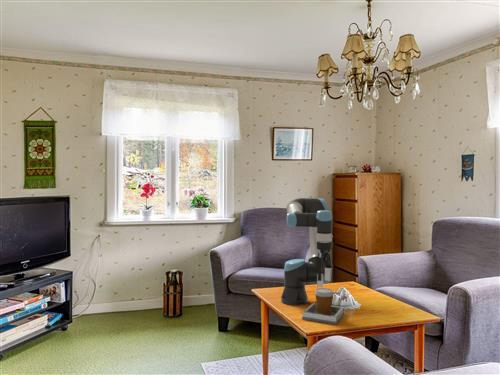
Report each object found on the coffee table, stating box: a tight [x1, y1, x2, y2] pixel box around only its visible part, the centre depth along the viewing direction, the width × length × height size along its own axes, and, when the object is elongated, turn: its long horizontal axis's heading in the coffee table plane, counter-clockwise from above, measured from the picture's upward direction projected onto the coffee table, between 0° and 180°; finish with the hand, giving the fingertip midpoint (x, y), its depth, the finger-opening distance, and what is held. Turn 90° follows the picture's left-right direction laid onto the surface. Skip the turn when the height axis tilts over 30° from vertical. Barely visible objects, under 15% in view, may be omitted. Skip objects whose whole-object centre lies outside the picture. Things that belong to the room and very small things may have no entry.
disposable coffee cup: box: [314, 287, 335, 315], centre depth 202 cm, size 10×10×12 cm
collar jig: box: [301, 302, 345, 326], centre depth 202 cm, size 17×17×4 cm
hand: (323, 283), depth 202 cm, fingers open, 13 cm apart
